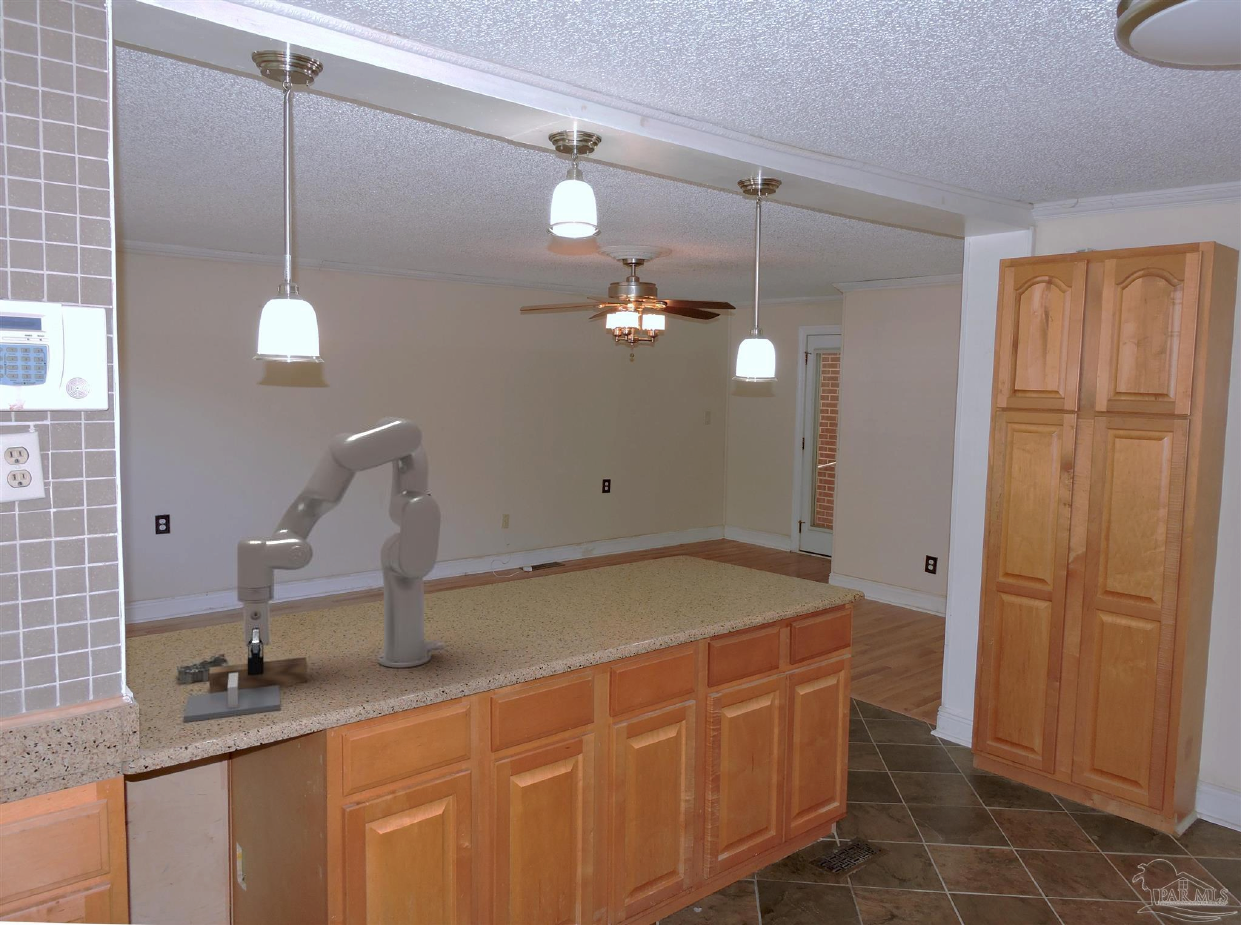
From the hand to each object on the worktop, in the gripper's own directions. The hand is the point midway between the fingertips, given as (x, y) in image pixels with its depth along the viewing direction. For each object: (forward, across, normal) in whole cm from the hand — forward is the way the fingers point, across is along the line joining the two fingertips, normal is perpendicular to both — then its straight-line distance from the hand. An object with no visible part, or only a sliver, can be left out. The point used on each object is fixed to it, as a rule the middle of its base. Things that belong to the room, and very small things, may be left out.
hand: (255, 667), depth 190 cm
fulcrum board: (+4, -11, +4) cm, 12 cm away
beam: (+4, 0, -1) cm, 5 cm away
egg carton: (+5, +11, +11) cm, 16 cm away
